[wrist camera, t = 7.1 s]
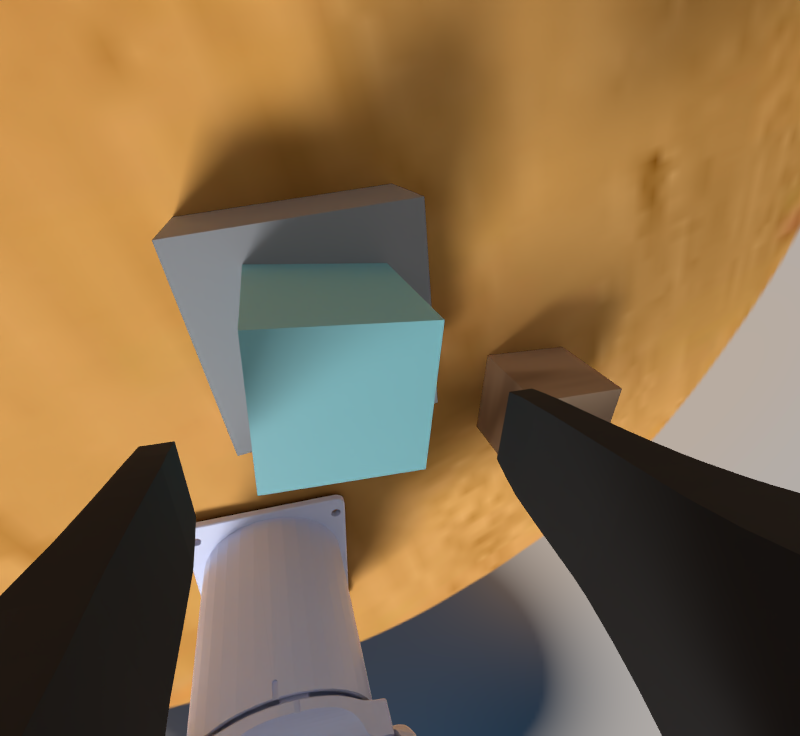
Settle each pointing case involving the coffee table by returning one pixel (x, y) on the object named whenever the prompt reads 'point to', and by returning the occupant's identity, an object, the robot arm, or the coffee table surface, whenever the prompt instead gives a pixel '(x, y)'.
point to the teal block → (336, 372)
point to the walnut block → (542, 386)
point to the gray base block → (280, 244)
